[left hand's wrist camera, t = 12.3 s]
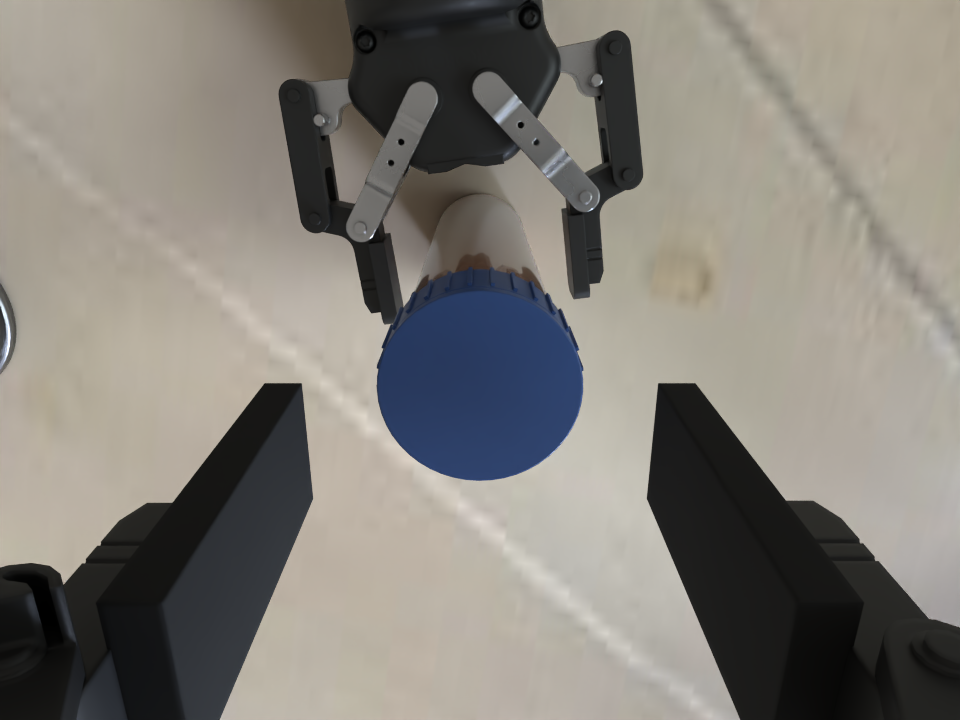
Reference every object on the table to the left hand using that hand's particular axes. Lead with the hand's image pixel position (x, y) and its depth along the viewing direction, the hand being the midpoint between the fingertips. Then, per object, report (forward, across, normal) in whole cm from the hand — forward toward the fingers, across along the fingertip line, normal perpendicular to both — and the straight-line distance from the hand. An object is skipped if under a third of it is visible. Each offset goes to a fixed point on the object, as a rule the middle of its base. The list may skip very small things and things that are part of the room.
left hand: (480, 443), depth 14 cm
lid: (+3, 0, 0) cm, 3 cm away
